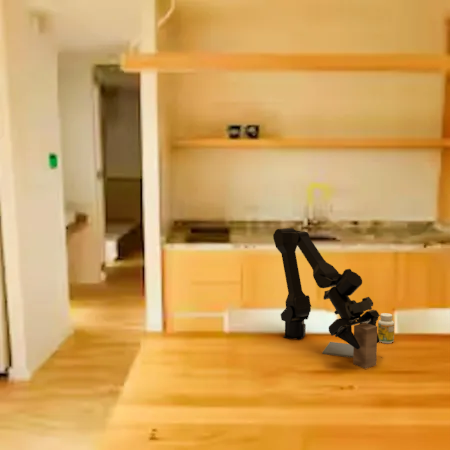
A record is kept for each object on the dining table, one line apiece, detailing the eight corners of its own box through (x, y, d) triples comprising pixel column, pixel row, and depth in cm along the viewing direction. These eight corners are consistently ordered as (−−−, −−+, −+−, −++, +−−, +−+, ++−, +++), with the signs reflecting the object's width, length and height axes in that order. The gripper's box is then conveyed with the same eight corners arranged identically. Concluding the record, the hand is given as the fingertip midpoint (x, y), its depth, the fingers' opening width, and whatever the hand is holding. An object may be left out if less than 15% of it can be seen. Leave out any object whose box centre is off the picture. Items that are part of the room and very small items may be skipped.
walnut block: (353, 364, 185) (354, 325, 183) (363, 360, 188) (364, 322, 186) (365, 368, 181) (366, 329, 179) (376, 365, 184) (377, 326, 182)
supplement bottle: (396, 342, 205) (397, 315, 204) (385, 344, 202) (386, 317, 201) (386, 337, 210) (386, 311, 208) (374, 340, 207) (375, 313, 206)
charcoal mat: (322, 353, 194) (322, 351, 194) (330, 343, 204) (330, 341, 204) (356, 358, 190) (356, 356, 190) (362, 347, 200) (362, 345, 200)
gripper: (336, 294, 179) (364, 338, 172) (375, 285, 190) (403, 326, 183) (317, 313, 186) (342, 356, 179) (356, 303, 197) (382, 344, 190)
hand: (368, 345), depth 182 cm, fingers open, 9 cm apart
